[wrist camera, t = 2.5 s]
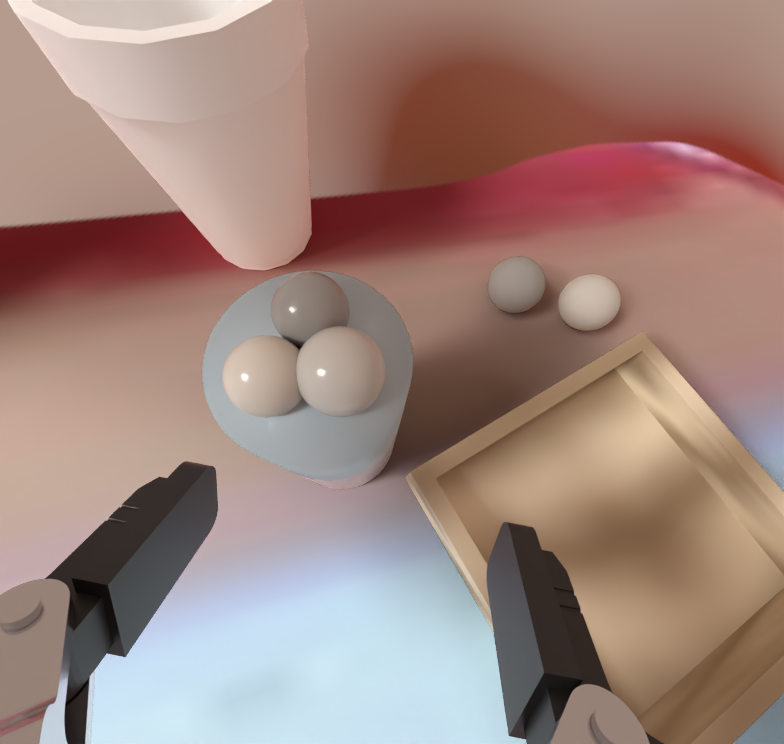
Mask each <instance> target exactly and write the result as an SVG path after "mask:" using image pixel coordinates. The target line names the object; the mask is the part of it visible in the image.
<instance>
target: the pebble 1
mask: <svg viewBox="0 0 784 744" xmlns="http://www.w3.org/2000/svg"><path fill="white" fill-rule="evenodd" d="M545 285H546V281H545V275H544V272H543V270H542V268H541V267H540V266H539V265H538V264H537V263H536V262H535V261H533V260H532V259H529V258H526V257H521V256H516V257H511V258H508V259H505V260H503V261H502V262H500V263H499V264H498V265H497V266H496V267H495V268H494V269H493V271H492V272H491V274H490V277H489V280H488V293H489V296H490V299H491V300H492V302H493V303H494V304H495V305H496V306H497V307H498V308H499V309H501V310H503V311H506V312H510V313H519V312H524V311H526V310H529V309H530V308H532V307H533V306H535V305H536V304H537V303H538V302H539V300H540V299H541V297H542V296H543V293H544V291H545Z"/></svg>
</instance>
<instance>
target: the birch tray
mask: <svg viewBox="0 0 784 744" xmlns="http://www.w3.org/2000/svg"><path fill="white" fill-rule="evenodd" d="M405 479H406V480H407V482H408V484H409V486H410V487H411V489H412V491H413V493H414V494H415V496H416V498H417V500H418V501H419V503H420V505H421V507H422V508H423V510H424V512H425V514H426V515H427V517H428V519H429V521H430V522H431V524H432V526H433V528H434V529H435V531H436V533H437V535H438V536H439V538H440V540H441V542H442V543H443V545H444V547H445V549H446V550H447V552H448V554H449V556H450V557H451V559H452V561H453V562H454V564H455V566H456V568H457V569H458V571H459V573H460V575H461V576H462V578H463V580H464V582H465V583H466V585H467V587H468V589H469V590H470V592H471V594H472V596H473V597H474V599H475V601H476V603H477V604H478V606H479V608H480V610H481V611H482V613H483V615H484V617H485V618H486V620H487V622H488V624H489V625H490V627H491V629H492V631H493V632H494V630H493V624H492V617H491V610H490V603H489V596H488V589H487V565H488V561H489V558H490V555H491V552H492V550H493V547H494V544H495V542H496V539H497V536H498V533H499V531H500V528H501V526H502V524H503V523H504V522H509V523H514V524H519V525H525V526H530V527H533V528H534V529H535V531H536V534H537V537H538V540H539V543H540V546H541V549H542V550H546V551H551V552H553V553H554V555H555V556H556V557H557V559H558V560H559V561H560V563H561V564H562V565H563V566H564V568H565V569H566V570H567V573H568V576H569V578H570V581H571V584H572V586H573V589H574V595H575V596H576V597H577V600H578V603H579V605H580V608H581V613H582V614H583V616H584V619H585V622H586V624H587V627H588V630H589V632H590V635H591V638H592V640H593V643H594V646H595V649H596V651H597V654H598V657H599V659H600V662H601V665H602V668H603V670H604V673H605V676H606V678H607V681H608V684H609V686H610V688H611V690H612V692H613V694H614V695H615V696H617V697H618V698H619V699H620V700H622V701H623V702H624V703H625V704H626V705H627V706H628V707H629V709H630V710H631V711H632V712H633V713H634V715H635V716H636V717H637V719H638V720H639V722H640V724H641V725H642V727H643V729H644V731H645V732H647V733H648V734H649V735H651V736H652V737H654V738H655V739H657V740H659V741H660V742H662V743H664V744H732V743H733V742H734V741H736V740H737V739H738V738H739V737H740V736H741V735H742V734H743V733H744V732H745V731H746V730H747V729H748V728H749V727H750V726H751V725H752V724H753V723H754V722H755V721H756V720H757V719H758V718H759V717H760V716H761V715H762V714H763V713H764V712H765V711H766V710H767V709H768V708H769V707H770V706H771V705H772V704H773V703H774V702H775V701H776V700H777V699H778V698H779V697H780V696H781V695H782V694H783V693H784V492H783V491H782V490H781V489H780V487H779V486H778V485H777V484H776V483H775V482H774V481H773V479H772V478H771V477H770V476H769V475H768V474H767V473H766V472H765V470H764V469H763V468H762V467H761V466H760V465H759V464H758V462H757V461H756V460H755V459H754V458H753V457H752V456H751V454H750V453H749V452H748V451H747V450H746V449H745V448H744V446H743V445H742V444H741V443H740V442H739V441H738V440H737V438H736V437H735V436H734V435H733V434H732V433H731V432H730V430H729V429H728V428H727V427H726V426H725V425H724V424H723V422H722V421H721V420H720V419H719V418H718V417H717V416H716V414H715V413H714V412H713V411H712V410H711V409H710V408H709V406H708V405H707V404H706V403H705V402H704V401H703V400H702V398H701V397H700V396H699V395H698V394H697V393H696V392H695V390H694V389H693V388H692V387H691V386H690V385H689V384H688V382H687V381H686V380H685V379H684V378H683V377H682V376H681V374H680V373H679V372H678V371H677V370H676V369H675V368H674V366H673V365H672V364H671V363H670V362H669V361H668V360H667V358H666V357H665V356H664V355H663V354H662V353H661V352H660V350H659V349H658V348H657V347H656V346H655V345H654V344H653V342H652V341H651V340H650V339H649V338H648V337H647V336H646V334H645V333H644V332H641V333H639V334H638V335H636V336H634V337H633V338H631V339H629V340H628V341H626V342H624V343H623V344H621V345H619V346H618V347H616V348H614V349H613V350H611V351H609V352H608V353H606V354H604V355H603V356H601V357H599V358H598V359H596V360H594V361H593V362H591V363H589V364H588V365H586V366H585V367H583V368H581V369H580V370H578V371H576V372H575V373H573V374H571V375H570V376H568V377H566V378H565V379H563V380H561V381H560V382H558V383H556V384H555V385H553V386H551V387H550V388H548V389H546V390H545V391H543V392H541V393H540V394H538V395H536V396H535V397H533V398H531V399H530V400H528V401H527V402H525V403H523V404H522V405H520V406H518V407H517V408H515V409H513V410H512V411H510V412H508V413H507V414H505V415H503V416H502V417H500V418H498V419H497V420H495V421H493V422H492V423H490V424H488V425H487V426H485V427H483V428H482V429H480V430H478V431H477V432H475V433H473V434H472V435H470V436H468V437H467V438H465V439H464V440H462V441H460V442H459V443H457V444H455V445H454V446H452V447H450V448H449V449H447V450H445V451H444V452H442V453H440V454H439V455H437V456H435V457H434V458H432V459H430V460H429V461H427V462H425V463H424V464H422V465H420V466H419V467H417V468H415V469H414V470H412V471H410V473H409V474H408V475H407V476H406V477H405Z"/></svg>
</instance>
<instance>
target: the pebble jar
mask: <svg viewBox="0 0 784 744" xmlns="http://www.w3.org/2000/svg"><path fill="white" fill-rule="evenodd" d="M412 374H413V352H412V345H411V341H410V337H409V334H408V331H407V329H406V326H405V324H404V322H403V320H402V318H401V317H400V315H399V313H398V312H397V311H396V309H395V308H394V307H393V305H392V304H391V303H390V302H389V301H388V300H387V299H386V298H385V297H384V296H383V295H382V294H380V293H379V292H378V291H376V290H375V289H374V288H372V287H371V286H369V285H367V284H366V283H364V282H362V281H359V280H357V279H355V278H353V277H350V276H346V275H343V274H339V273H334V272H329V271H300V272H293V273H288V274H285V275H281V276H277V277H275V278H272V279H269V280H267V281H265V282H263V283H261V284H259V285H257V286H255V287H254V288H252V289H251V290H249V291H248V292H246V293H244V294H243V295H242V296H241V297H240V298H238V299H237V300H236V301H235V302H234V303H233V304H232V305H231V306H230V307H229V308H228V309H227V310H226V311H225V313H224V314H223V315H222V317H221V318H220V319H219V321H218V322H217V324H216V326H215V328H214V329H213V331H212V333H211V336H210V338H209V341H208V343H207V346H206V350H205V354H204V358H203V367H202V380H203V388H204V393H205V398H206V400H207V403H208V406H209V409H210V411H211V413H212V415H213V417H214V418H215V420H216V422H217V423H218V424H219V426H220V427H221V428H222V430H223V431H224V432H225V433H226V434H227V435H228V436H229V437H230V438H231V439H232V440H233V441H234V442H235V443H237V444H238V445H239V446H241V447H242V448H244V449H245V450H247V451H249V452H251V453H253V454H254V455H256V456H258V457H260V458H263V459H265V460H267V461H269V462H271V463H274V464H276V465H278V466H280V467H282V468H285V469H287V470H289V471H291V472H293V473H296V474H298V475H300V476H302V477H304V478H306V479H309V480H311V481H313V482H315V483H317V484H320V485H322V486H325V487H327V488H332V489H351V488H356V487H358V486H361V485H364V484H365V483H367V482H369V481H371V480H372V479H374V478H375V477H376V476H377V475H378V474H379V473H380V472H381V471H382V470H383V469H384V467H385V466H386V464H387V463H388V461H389V458H390V456H391V453H392V450H393V447H394V443H395V440H396V436H397V432H398V429H399V425H400V421H401V418H402V414H403V410H404V407H405V403H406V399H407V396H408V392H409V388H410V384H411V379H412Z"/></svg>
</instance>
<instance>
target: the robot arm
mask: <svg viewBox="0 0 784 744" xmlns="http://www.w3.org/2000/svg"><path fill="white" fill-rule="evenodd" d="M217 511H218V501H217V482H216V470H215V468H214V467H213V466H208V465H203V464H198V463H192V462H183V463H182V464H181V465H179V466H178V467H177V469H176V470H175V471H174V472H173V473H172V474H171V475H170V476H169V477H168V478H163V477H158V478H157V479H155V480H153V481H151V482H149V483H148V484H146V485H144V486H142V487H140V488H139V489H138V490H136V491H135V492H134V493H133V494H132V495H131V496H130V497H129V498H128V499H127V500H126V501H125V502H124V503H123V504H122V507H121V508H120V507H119V508H118V509H117V510H116V511H115V512H114V513H113V514H112V515H111V516H110V517H109V519H108V521H105V522H104V523H103V524H102V525H100V526H99V527H98V528H97V529H96V530H95V531H94V532H93V533H92V534H91V535H90V536H89V537H88V538H87V539H86V540H85V541H84V542H83V543H82V544H81V545H80V546H79V547H78V548H77V549H76V550H75V551H74V552H73V553H72V554H71V555H70V556H69V557H68V558H67V559H66V560H64V561H63V562H62V563H61V564H60V565H59V566H58V567H57V568H56V569H55V570H54V571H53V572H52V573H51V574H50V575H49V576H48V577H46V578H45V579H39V580H34V581H30V582H27V583H24V584H21V585H18V586H16V587H14V588H12V589H10V590H8V591H6V592H4V593H3V594H1V595H0V744H91V732H92V715H93V698H94V681H95V674H94V670H95V669H96V667H97V666H98V665H99V663H100V662H101V660H102V659H103V658H104V656H105V655H106V653H108V654H113V655H118V656H123V657H126V655H127V654H128V652H129V651H130V649H131V648H132V646H133V645H134V643H135V642H136V640H137V639H138V637H139V636H140V635H141V633H142V632H143V630H144V629H145V627H146V626H147V624H148V623H149V621H150V620H151V618H152V617H153V615H154V614H155V612H156V611H157V609H158V608H159V606H160V605H161V603H162V602H163V600H164V599H165V598H166V596H167V595H168V593H169V592H170V590H171V589H172V587H173V586H174V584H175V583H176V581H177V580H178V578H179V577H180V575H181V574H182V572H183V571H184V569H185V568H186V566H187V565H188V563H189V562H190V560H191V559H192V558H193V556H194V555H195V553H196V552H197V550H198V549H199V547H200V546H201V544H202V543H203V541H204V540H205V538H206V537H207V535H208V534H209V532H210V531H211V529H212V527H213V525H214V522H215V520H216V516H217ZM487 589H488V596H489V603H490V610H491V617H492V624H493V630H494V637H495V644H496V651H497V658H498V665H499V671H500V678H501V685H502V692H503V699H504V706H505V712H506V719H507V726H508V733H509V736H512V737H517V738H522V739H526V742H527V744H664V743H662V742H660V741H659V740H657V739H655V738H654V737H652V736H651V735H649V734H648V733H647V732H645V731H644V729H643V727H642V725H641V724H640V722H639V720H638V719H637V717H636V716H635V715H634V713H633V712H632V711H631V710H630V709H629V707H628V706H627V705H626V704H625V703H624V702H623V701H622V700H620V699H619V698H618V697H617V696H615V695H614V694H613V692H612V690H611V688H610V686H609V684H608V681H607V678H606V676H605V673H604V670H603V668H602V665H601V662H600V659H599V657H598V654H597V651H596V649H595V646H594V643H593V640H592V638H591V635H590V632H589V630H588V627H587V624H586V622H585V619H584V616H583V614H582V613H581V608H580V605H579V603H578V600H577V597H576V596H575V595H574V589H573V586H572V584H571V581H570V578H569V576H568V573H567V570H566V569H565V568H564V566H563V565H562V564H561V563H560V561H559V560H558V559H557V557H556V556H555V555H554V553H553V552H551V551H546V550H542V549H541V546H540V543H539V540H538V537H537V534H536V531H535V529H534V528H533V527H530V526H525V525H519V524H514V523H509V522H504V523H503V524H502V526H501V528H500V531H499V533H498V536H497V539H496V542H495V544H494V547H493V550H492V552H491V555H490V558H489V561H488V565H487Z"/></svg>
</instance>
